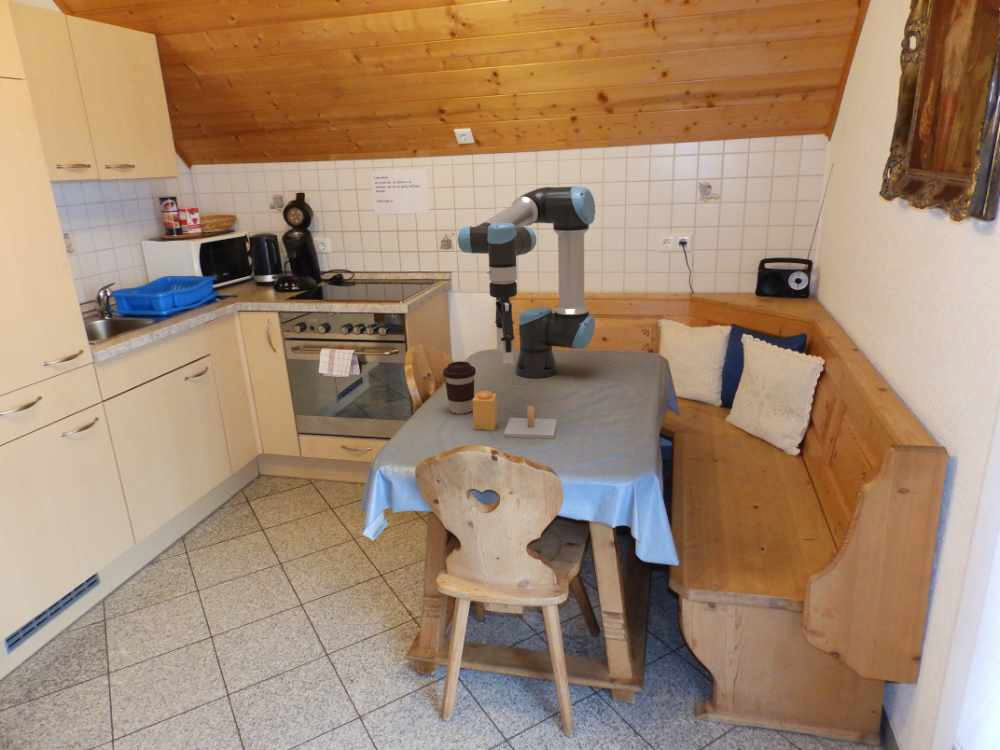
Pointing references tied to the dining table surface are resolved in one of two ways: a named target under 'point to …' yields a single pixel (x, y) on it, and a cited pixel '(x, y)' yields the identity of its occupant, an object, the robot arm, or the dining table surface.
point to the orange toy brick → (485, 410)
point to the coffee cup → (460, 386)
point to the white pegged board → (531, 426)
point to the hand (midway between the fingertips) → (505, 356)
